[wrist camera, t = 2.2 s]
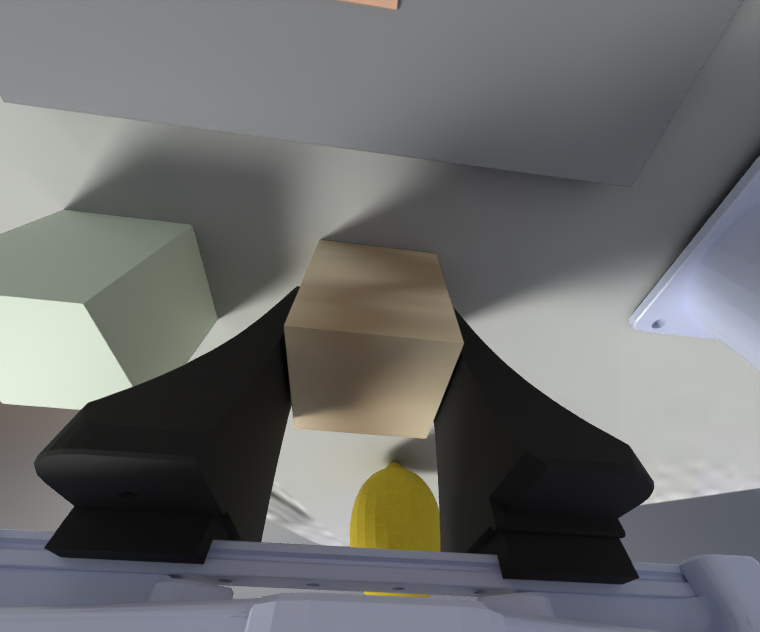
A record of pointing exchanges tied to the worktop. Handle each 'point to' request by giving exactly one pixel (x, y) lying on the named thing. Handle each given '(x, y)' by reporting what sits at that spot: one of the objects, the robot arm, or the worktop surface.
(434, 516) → the lemon
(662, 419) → the worktop surface
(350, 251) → the maple block
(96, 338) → the sage block
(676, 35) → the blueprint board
